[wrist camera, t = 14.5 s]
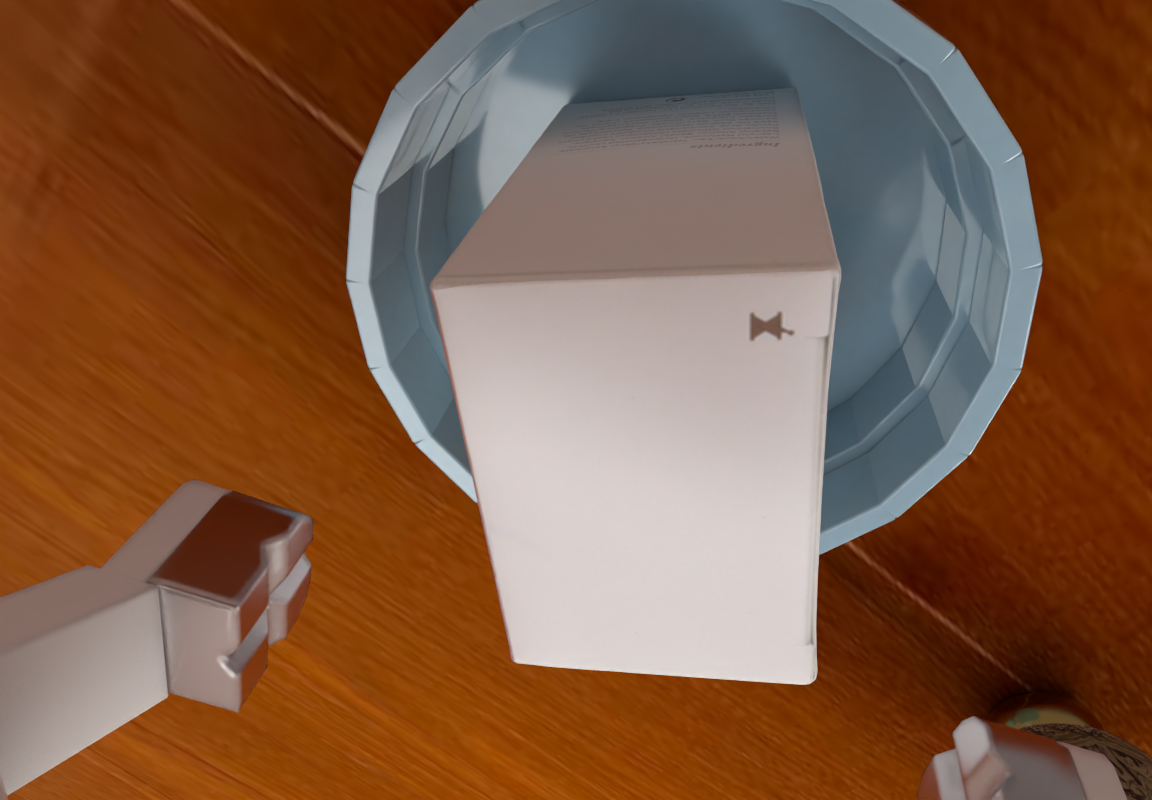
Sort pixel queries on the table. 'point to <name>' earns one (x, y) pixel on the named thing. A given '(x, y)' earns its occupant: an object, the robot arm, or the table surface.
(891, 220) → the bowl
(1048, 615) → the table surface
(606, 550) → the small box
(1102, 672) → the table surface
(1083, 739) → the cup
